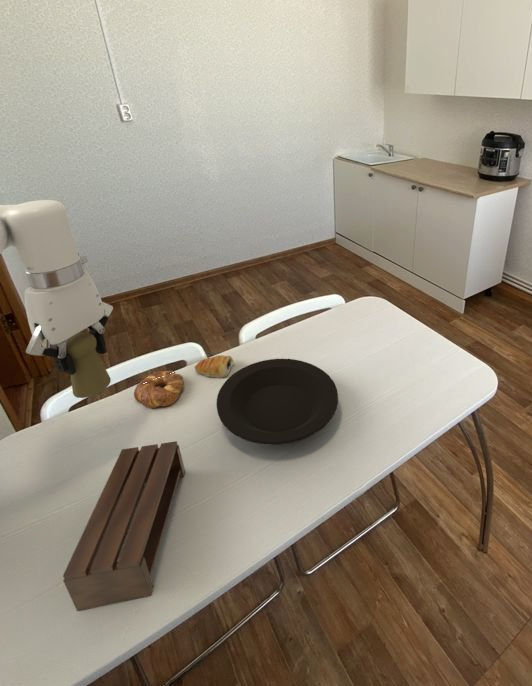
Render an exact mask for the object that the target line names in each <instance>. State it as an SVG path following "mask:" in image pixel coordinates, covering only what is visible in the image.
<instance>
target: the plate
mask: <svg viewBox="0 0 532 686" xmlns="http://www.w3.org/2000/svg"><path fill="white" fill-rule="evenodd" d="M338 404H339V393H338V388H337V386H336V383H335V381H334V380H333V379H332V378H331V376H330V375H329V374H328V373H327V372H326V371H324V369H322V368H320V367H318V366H317V365H314V364H312V363H309V362H307V361H303V360H298V359H294V358H270V359H264V360H261V361H257V362H253V363H251V364H249V365H246V366H244V367H242V368H240V369H239V370H236V372H234V373H232V374H231V375H230V376H229V377H227V379H226V380H225V382H224V383H223V384H222V386H221V387H220V389H219V390H218V393H217V397H216V412H217V415H218V418H219V420H220V422H221V423H222V425H223V426H224V427H225V428H226V430H228V431H229V432H230V433H231V434H233V435H234V436H236V437H238V438H240V439H242V440H245V441H247V442H251V443H253V444H259V445H268V446H269V445H272V446H276V445H286V444H292V443H295V442H299V441H303V440H304V439H305V440H306V439H307V438H310V437H312V436H313V435H315V434H317V433H318V432H320V431H321V430H322V429H324V428H325V427H326V426H327V425H328V424H329V422H330V421H332V419H333V417H334V416H335V414H336V411H337V409H338V406H339V405H338Z"/></svg>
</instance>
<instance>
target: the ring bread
mask: <svg viewBox="0 0 532 686" xmlns="http://www.w3.org/2000/svg"><path fill="white" fill-rule="evenodd" d="M172 372H174V373H172ZM170 373H171V374H170ZM162 376H164V377H162ZM158 377H160V378H158ZM156 378H157V379H156ZM153 379H154V380H153ZM145 382H147V383H145ZM143 383H145V384H143ZM183 390H184V376H183V375H181V374H180V373H176V371H174V370H164V371H163V370H160V371H155V372H152V373H151V374H149V375H148V376H146V377H145V378H143V379H142V380H140V382H138V384H136V386H135V389H134V391H133V397H134V399H135V401H136V402H138V403H140V404H142V405H143V406H144V407H145V408H148V409H149V408H150V409H155V408H159V407H167V406H170V405H171V404H173V403H175V402H176V401H177V400H178V398H179V397H180V395H181V394H180V393H181V392H182V391H183Z"/></svg>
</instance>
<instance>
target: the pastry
mask: <svg viewBox="0 0 532 686" xmlns="http://www.w3.org/2000/svg"><path fill="white" fill-rule="evenodd" d="M233 366H234V359H233V357H232V356H231V355H223V354H221V355H220V354H218V356H217V355H215V356H213V357H212V356H211V357H207V358H204V359H201V360H199V361H198V362H197V363H196V364H195V366H194V370H195V372H196V373H197V374H199V375H202V374H203V375H202V376H205V377H206V376H207V377H206V378H214V377H215V378H218V379H222V378H225V377H228V376H229V374H230V371H231V368H232V367H233Z"/></svg>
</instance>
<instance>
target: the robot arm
mask: <svg viewBox="0 0 532 686" xmlns="http://www.w3.org/2000/svg"><path fill="white" fill-rule="evenodd" d="M74 235H75V234H74V232H73V229H72V224H71V222H70V219H69V215H68V212H67V209H66V207H65V206H64V204H63V203H62V202H60V201H59V200H56V199H55V200H54V199H38V200H31V201H26V202H22V203H18V204H17V203H16V204H0V255H1V254H2V253H3V251H4V250H5V249H7V248H9V247H14V248H15V249H16V251H17V255H18V258H19V260H20V263H21V266H22V268H23V272H24V275H25V277H26V280H27V283H28V286H29V287H27V288H25V289H24V305H25V306H24V307H25V313H26V317H27V322H28V326H29V329H30V333H31V335H32V336H31V337H30V340H29V342H28V344H27V347H26V349H25V353H26V354H27V355H31V356H45V357H49V358H53V360H54V363H55V366H56V369H57V371H58V372H59V373H62V374H63V373H64V374H67V375H70V376H71V375H73V374H74V373H76V369H75V366H74V363H73V360H72V357H71V355H70V354H67V353H66V348H67V339H68V338H70V337H72V336H74V335H75V334H78V333H82V332H83V331H84V330H85V329H87V330H88V333H91V334H92V335H93V336H94V337H95V338H96V341H97V343H96V348H95V350H96V352H97V353H98V354H101V355H104V354H106V353H107V348H106V345H107V344H106V341H105V337H104V333H105V332H106V329H105V328H106V327H105V326H106V324H107V322H108V320H109V317H110V315H111V313H112V312H113V310H114V306H113V305H111V304H110V303H106V302H104V301H102V298H101V295H100V292H99V290H98V288H97V286H96V284H95V282H94V280H93V279H92V277H91V274H90V273H89V272H88V271H87V270H85V268H84V265H85V263H87V262H89V259H88V257H87V256H86V255H80V253H79V249H78V246H77V242H76V240H75V236H74ZM45 340H47V341H48V342H47V346H43V342H44V341H45Z"/></svg>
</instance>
